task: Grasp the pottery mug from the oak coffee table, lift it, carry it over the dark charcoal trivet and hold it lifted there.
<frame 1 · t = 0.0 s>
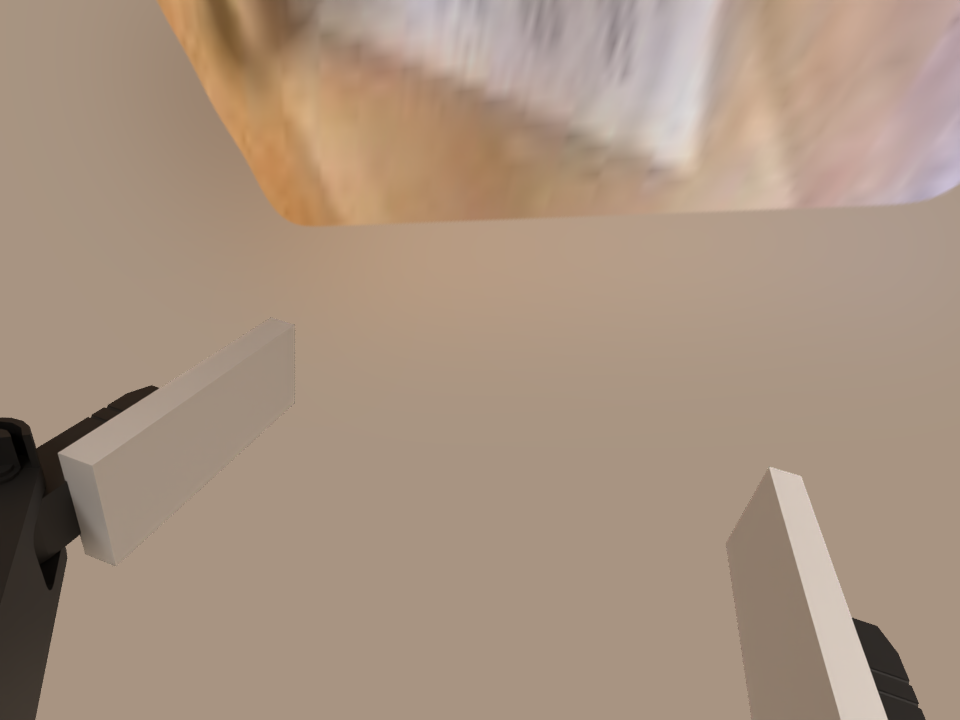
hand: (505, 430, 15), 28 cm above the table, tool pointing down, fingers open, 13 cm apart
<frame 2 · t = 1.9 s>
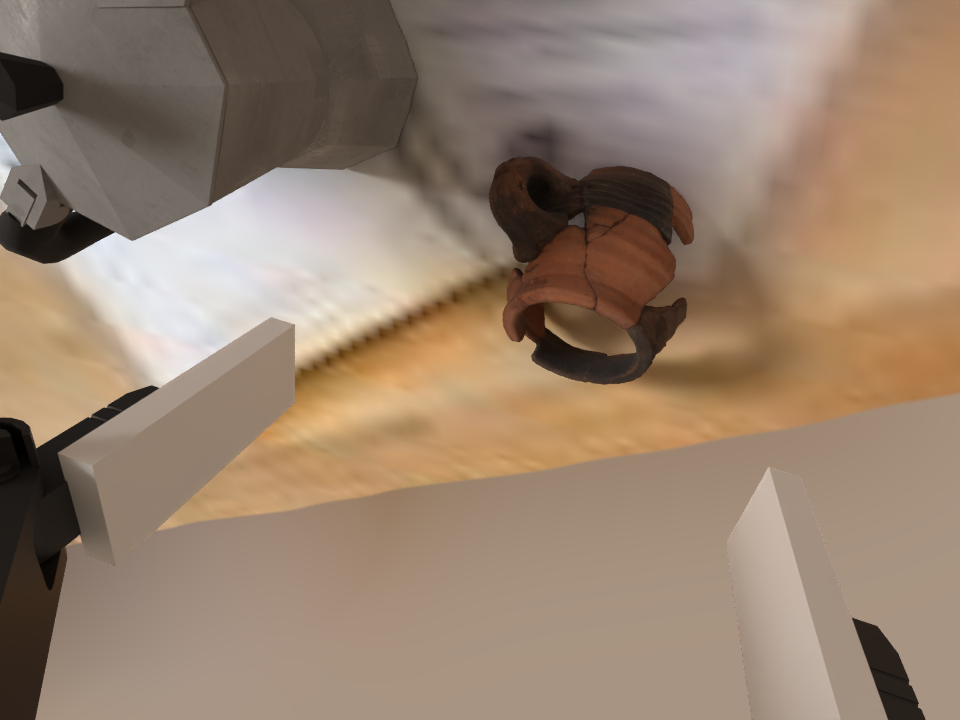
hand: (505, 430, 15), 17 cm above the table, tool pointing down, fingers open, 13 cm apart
coffeepot: (327, 91, 30), on the table
pottery mug: (590, 243, 30), on the table
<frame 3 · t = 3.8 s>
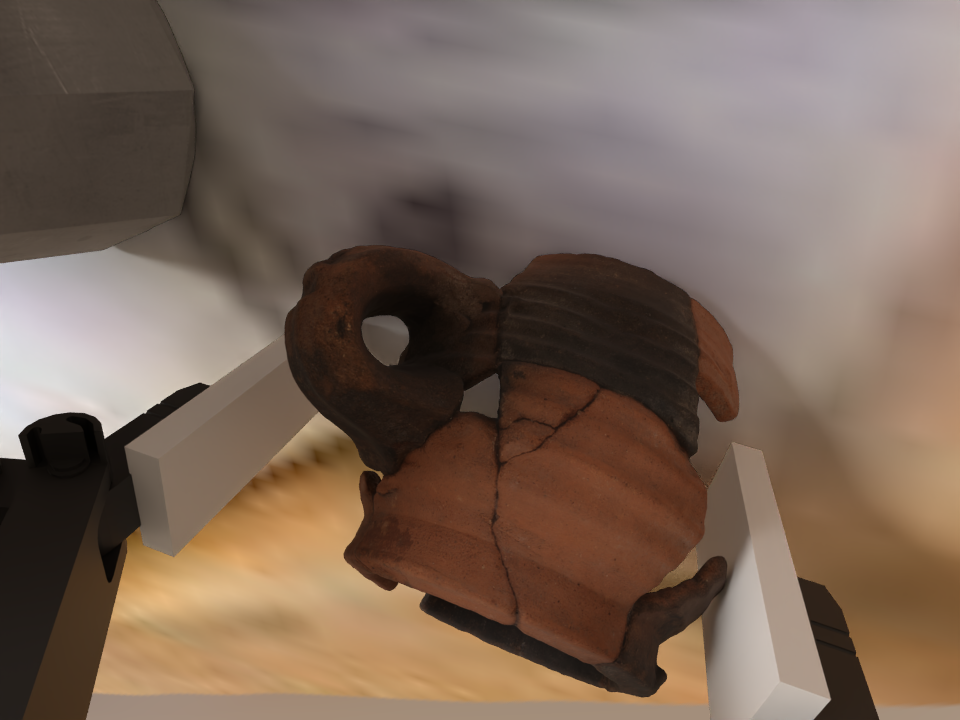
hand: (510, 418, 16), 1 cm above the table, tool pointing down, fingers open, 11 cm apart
coffeepot: (57, 113, 16), on the table
pottery mug: (537, 382, 16), on the table, touching gripper
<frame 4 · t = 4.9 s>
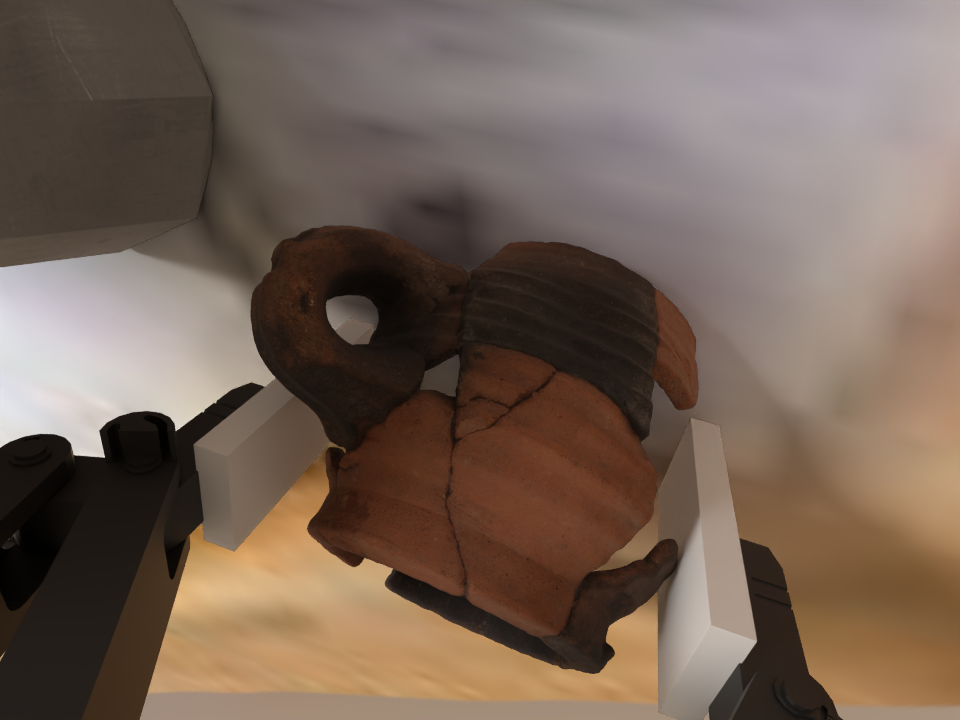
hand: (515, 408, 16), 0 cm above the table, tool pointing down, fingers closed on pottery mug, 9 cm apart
coffeepot: (77, 118, 17), on the table
pottery mug: (508, 369, 16), on the table, touching gripper
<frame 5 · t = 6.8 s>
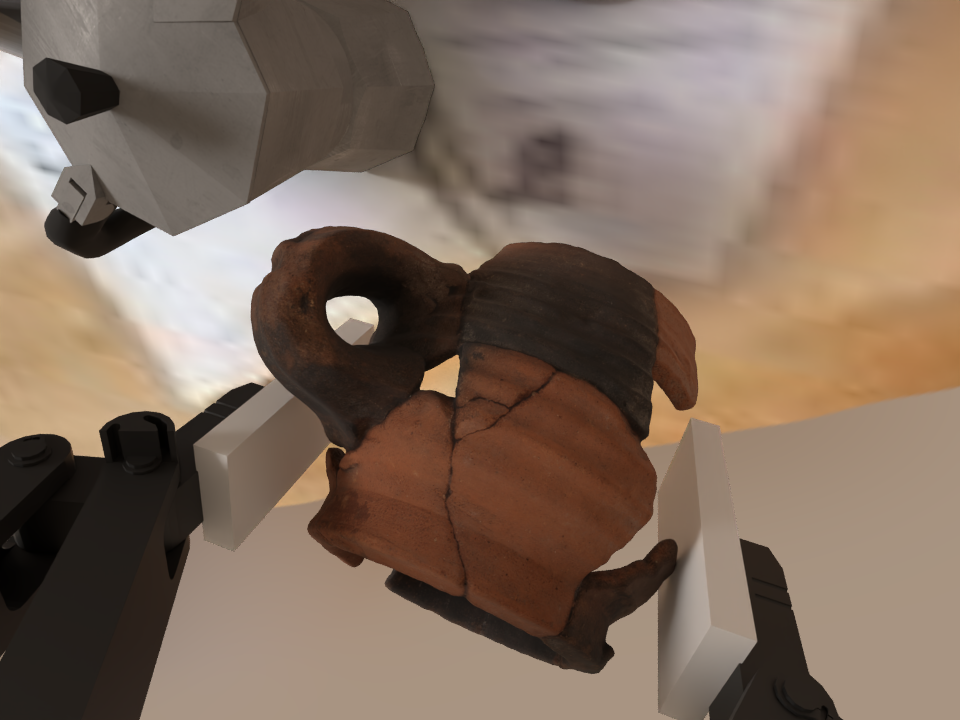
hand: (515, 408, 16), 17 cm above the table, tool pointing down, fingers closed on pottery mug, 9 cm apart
coffeepot: (347, 98, 31), on the table
pottery mug: (508, 369, 16), point 17 cm above the table, touching gripper
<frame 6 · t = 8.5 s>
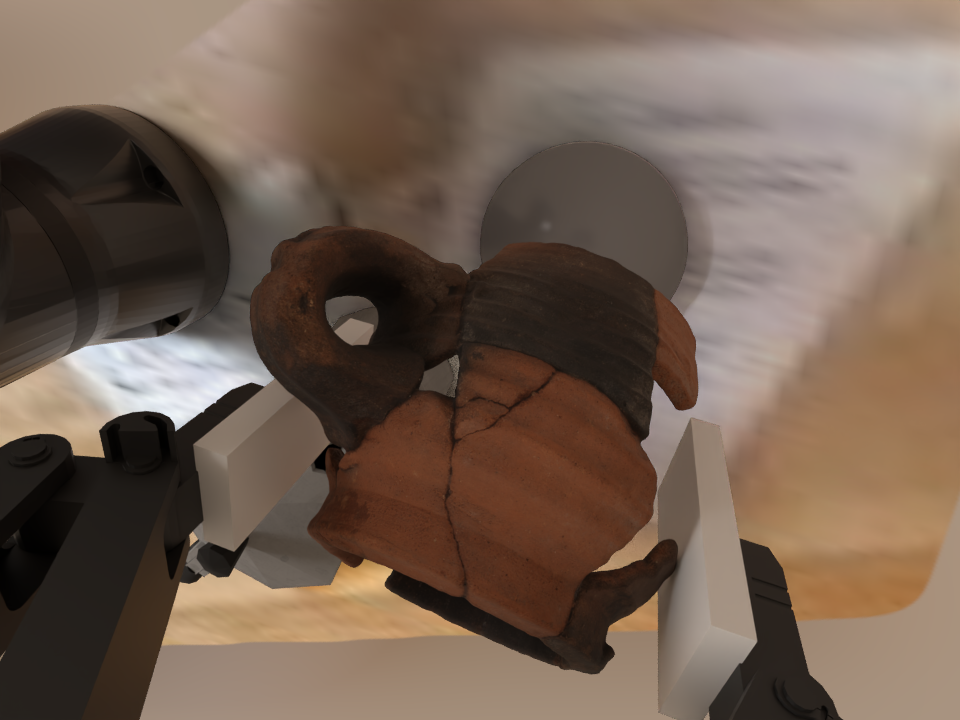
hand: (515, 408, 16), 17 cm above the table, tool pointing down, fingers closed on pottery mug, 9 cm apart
coffeepot: (382, 372, 39), on the table
trivet: (580, 247, 31), on the table
pottery mug: (508, 369, 16), point 16 cm above the table, touching gripper
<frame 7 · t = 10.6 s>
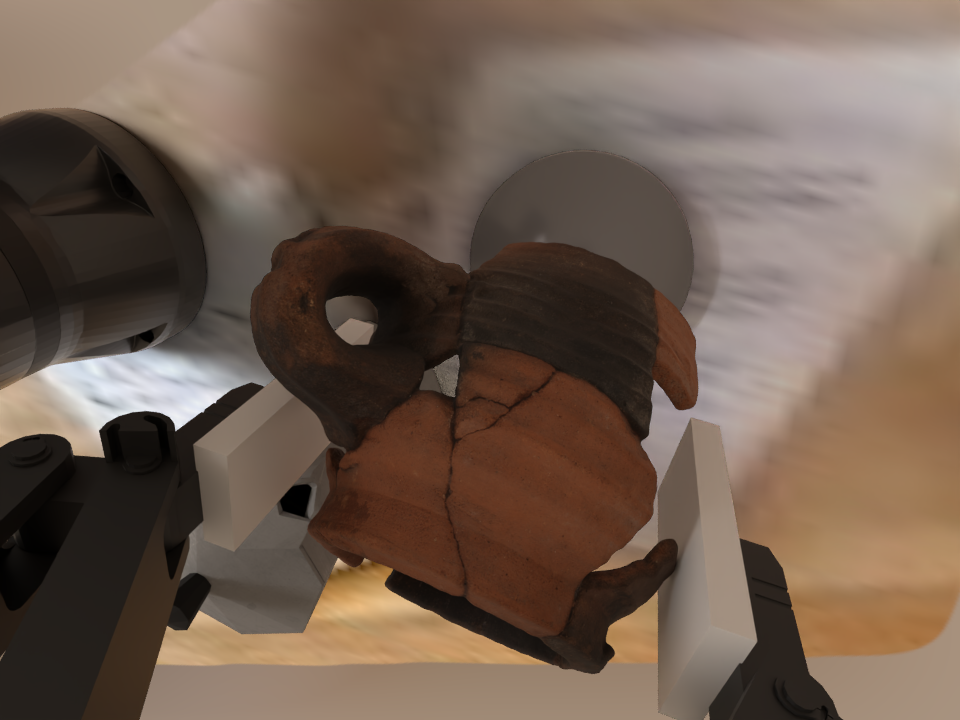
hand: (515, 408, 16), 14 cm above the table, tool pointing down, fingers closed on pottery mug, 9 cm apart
coffeepot: (368, 391, 36), on the table
trivet: (578, 263, 29), on the table
pottery mug: (508, 369, 16), point 14 cm above the table, touching gripper
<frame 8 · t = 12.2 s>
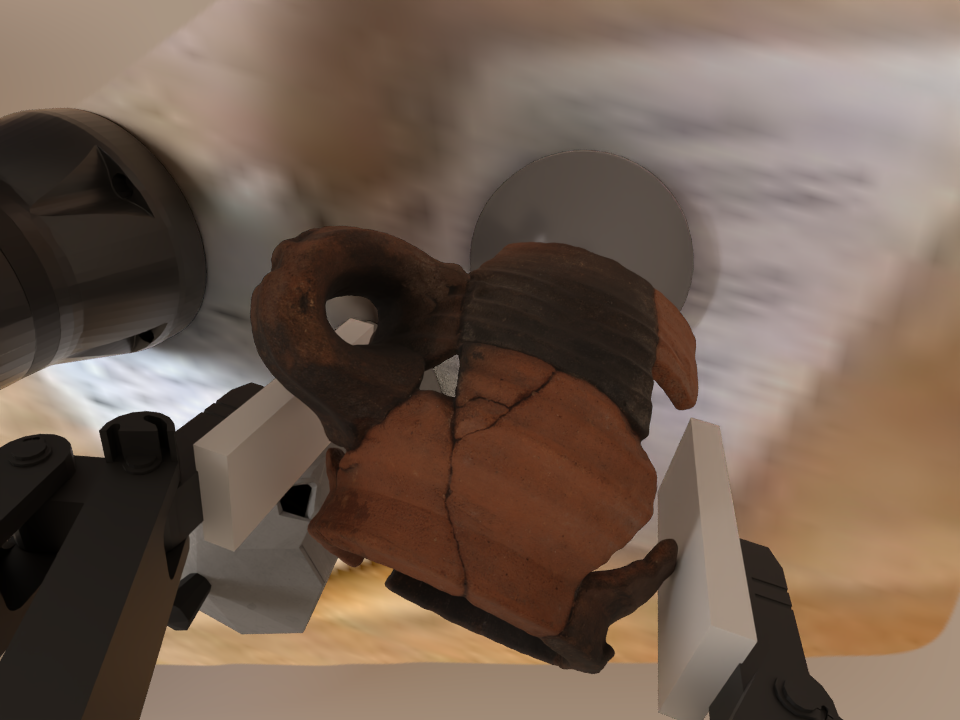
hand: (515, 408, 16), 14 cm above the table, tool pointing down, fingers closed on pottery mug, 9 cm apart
coffeepot: (368, 391, 36), on the table
trivet: (578, 263, 29), on the table
pottery mug: (508, 369, 16), point 14 cm above the table, touching gripper
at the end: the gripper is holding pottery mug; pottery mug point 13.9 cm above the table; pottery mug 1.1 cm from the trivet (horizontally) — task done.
